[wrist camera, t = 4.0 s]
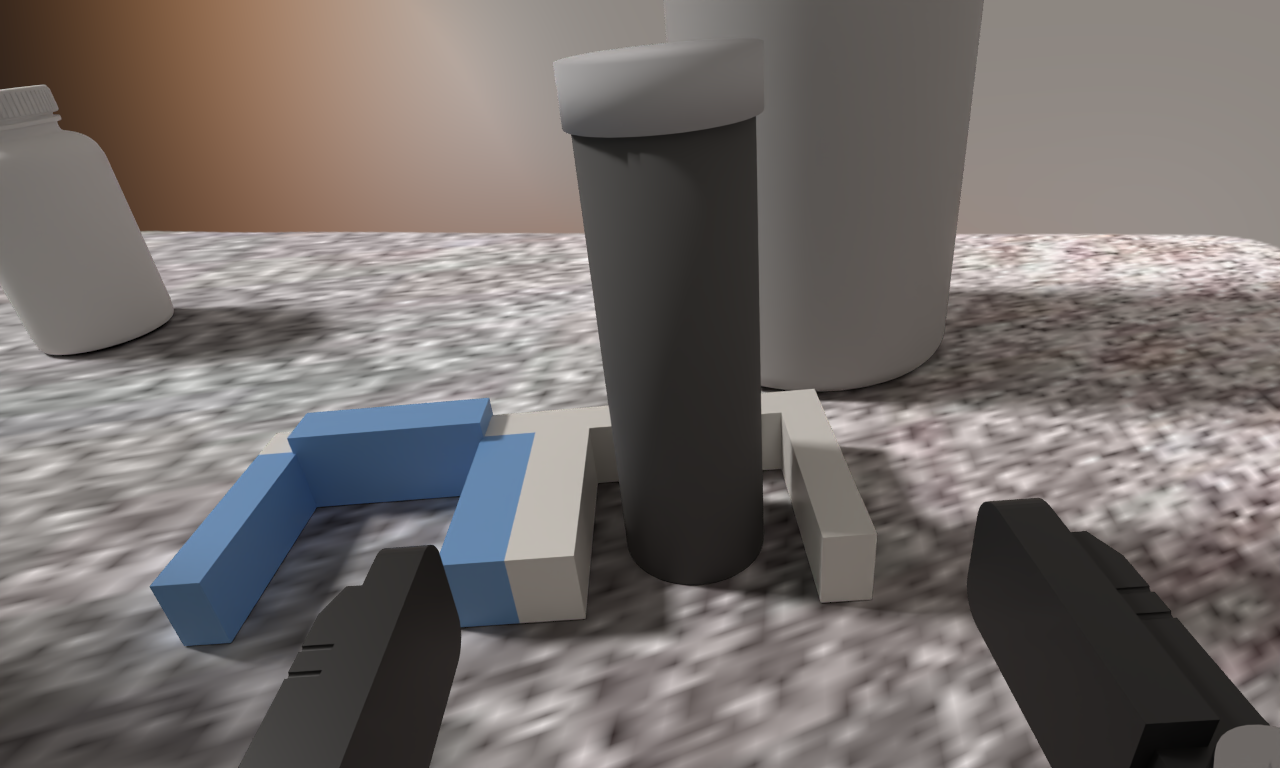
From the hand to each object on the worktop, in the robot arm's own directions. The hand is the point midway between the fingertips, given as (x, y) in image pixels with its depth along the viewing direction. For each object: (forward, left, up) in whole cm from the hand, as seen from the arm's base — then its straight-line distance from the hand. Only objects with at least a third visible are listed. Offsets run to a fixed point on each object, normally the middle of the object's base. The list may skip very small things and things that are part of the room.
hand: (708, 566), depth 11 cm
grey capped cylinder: (+8, +8, -9) cm, 14 cm away
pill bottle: (-2, +51, -9) cm, 52 cm away
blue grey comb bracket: (+4, +12, -9) cm, 15 cm away
